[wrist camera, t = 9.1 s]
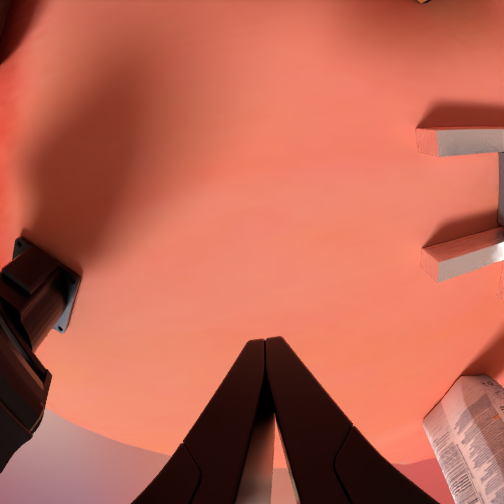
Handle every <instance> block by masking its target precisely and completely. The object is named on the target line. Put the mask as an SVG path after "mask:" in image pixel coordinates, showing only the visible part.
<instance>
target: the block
mask: <svg viewBox="0 0 504 504" xmlns="http://www.w3.org/2000/svg"><path fill="white" fill-rule="evenodd" d="M497 222H498V223H499V224H501V225H503V226H504V152H499V204H498V220H497Z"/></svg>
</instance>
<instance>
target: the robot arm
mask: <svg viewBox="0 0 504 504" xmlns="http://www.w3.org/2000/svg"><path fill="white" fill-rule="evenodd" d="M20 242H21V243H20ZM21 244H22V245H21ZM72 278H74V279H75V281H74V280H73V279H72ZM79 284H80V277H79V275H78V274H77V273H75V272H74V271H72V270H71V269H69V268H68V267H66V266H64V265H63V264H61V263H60V262H58V261H57V260H55V259H54V258H52V257H51V256H50V255H48V254H47V253H45V252H44V251H42V250H41V249H39V248H38V247H37V246H35V245H34V244H32V243H31V242H29V241H28V240H27V239H25V238H24V237H22V236H20V237H18V238H17V239H16V240H15V245H14V251H13V258H12V261H11V262H9V263H8V264H7V265H6V266H4V267H3V268H2V270H1V271H0V473H1V472H2V471H3V469H4V468H5V466H6V464H7V463H8V461H9V460H10V458H11V457H12V455H13V454H14V453H15V452H16V451H17V450H18V448H20V447H21V446H22V445H23V444H24V443H26V442H27V441H29V440H30V439H31V438H32V436H33V435H32V434H33V433H34V432H35V431H36V430H37V428H38V427H39V425H40V423H41V421H42V418H43V414H44V409H45V405H46V400H47V395H48V391H49V387H50V383H51V379H52V374H51V373H50V372H49V371H48V369H45V367H44V366H43V365H42V363H41V362H40V361H39V359H38V358H37V357H36V355H35V354H34V353H35V351H36V350H37V348H38V347H39V346H40V344H41V343H42V341H43V340H44V339H45V337H46V336H47V335H48V333H49V332H50V330H51V329H52V328H53V329H55V330H57V331H58V332H60V333H65V331H66V330H67V327H68V323H69V319H70V315H71V311H72V308H73V304H74V301H75V297H76V294H77V291H78V287H79ZM61 327H62V328H61ZM275 418H276V423H277V427H278V431H279V435H280V439H281V444H282V448H283V452H284V456H285V460H286V464H287V467H288V471H289V475H290V479H291V483H292V487H293V491H294V494H295V499H296V503H297V504H440V503H438V502H437V501H436V500H435V499H433V498H432V497H431V496H429V495H428V494H427V493H425V492H424V491H423V490H422V489H420V488H419V487H418V486H417V485H416V484H414V483H413V482H412V481H410V480H409V479H408V478H407V477H406V476H404V475H403V474H402V473H400V471H398V470H397V469H396V468H395V467H394V466H393V465H392V464H391V463H389V462H388V461H387V460H386V459H385V458H384V457H383V456H382V455H381V454H380V453H379V452H378V451H377V450H376V449H375V448H374V447H373V446H372V445H371V444H370V443H369V441H368V440H367V439H366V438H365V437H364V436H363V435H362V434H361V432H360V431H359V430H358V429H357V428H356V427H355V426H353V423H352V422H351V421H350V420H349V418H348V417H347V416H346V415H345V414H344V412H343V411H342V410H341V409H340V408H339V406H338V405H337V404H336V403H335V401H334V400H333V399H332V398H331V397H330V395H329V394H328V393H327V392H326V390H325V389H324V388H323V387H322V386H321V384H320V383H319V382H318V381H317V379H316V378H315V377H314V376H313V374H312V373H311V372H310V371H309V370H308V368H307V367H306V366H305V365H304V363H303V362H302V361H301V360H300V358H299V357H298V356H297V355H296V353H295V352H294V351H293V350H292V348H291V347H290V346H289V344H288V343H287V342H286V341H285V339H284V338H283V337H281V336H277V337H270V338H267V339H266V340H264V339H255V340H249V341H248V342H247V343H246V345H245V346H244V348H243V350H242V351H241V353H240V354H239V356H238V358H237V359H236V361H235V362H234V364H233V366H232V367H231V369H230V370H229V372H228V373H227V375H226V377H225V378H224V380H223V381H222V383H221V384H220V386H219V387H218V389H217V390H216V392H215V394H214V395H213V397H212V398H211V400H210V401H209V403H208V404H207V406H206V407H205V409H204V410H203V412H202V413H201V415H200V416H199V418H198V419H197V421H196V422H195V424H194V425H193V427H192V428H191V430H190V431H189V433H188V434H187V436H186V437H185V438H184V440H183V443H184V444H183V443H181V444H180V445H179V447H178V448H177V450H176V451H175V453H174V454H173V456H172V457H171V458H170V460H169V461H168V462H167V464H166V465H165V466H164V467H163V469H162V470H161V471H160V473H159V474H158V475H157V476H156V477H155V478H154V479H153V481H152V482H151V483H150V484H149V485H148V486H147V487H146V488H145V489H144V491H143V492H142V493H141V494H140V495H139V496H138V497H137V498H136V499H135V500H134V501H133V502H132V503H131V504H270V503H271V488H272V473H273V472H272V471H273V456H274V438H275Z"/></svg>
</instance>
